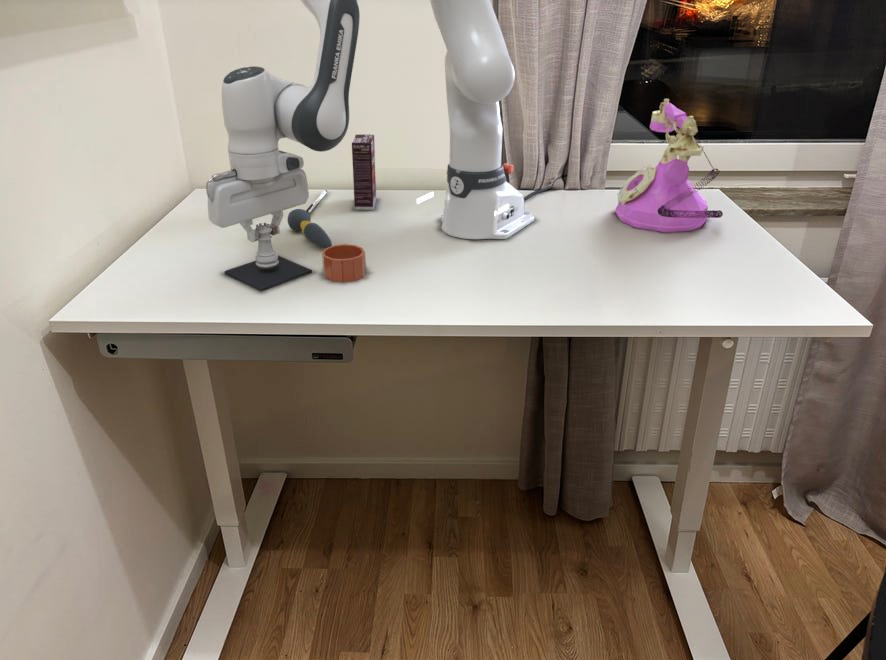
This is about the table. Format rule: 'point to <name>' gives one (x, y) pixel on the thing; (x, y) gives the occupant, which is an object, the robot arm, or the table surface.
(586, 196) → the table surface
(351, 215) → the table surface
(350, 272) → the brown hollow cylinder
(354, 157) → the supplement box
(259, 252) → the rook chess piece
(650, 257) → the table surface
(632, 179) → the telephone
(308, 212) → the pen
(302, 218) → the paintbrush
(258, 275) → the pad
